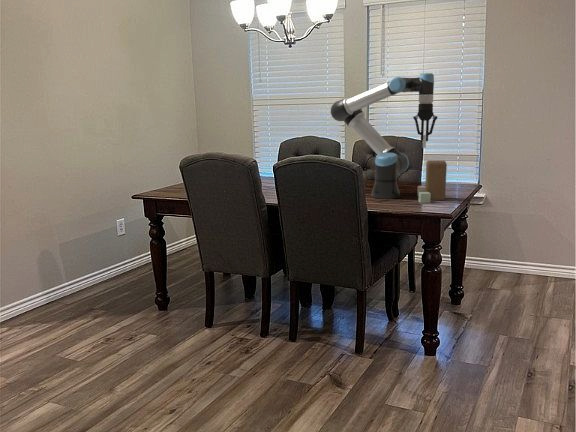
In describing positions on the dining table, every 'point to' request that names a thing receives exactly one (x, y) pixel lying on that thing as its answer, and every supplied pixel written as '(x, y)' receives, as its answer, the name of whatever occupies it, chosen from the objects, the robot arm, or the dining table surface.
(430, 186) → the wooden block
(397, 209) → the dining table surface
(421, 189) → the cream cube
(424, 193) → the sage cube
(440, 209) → the dining table surface
